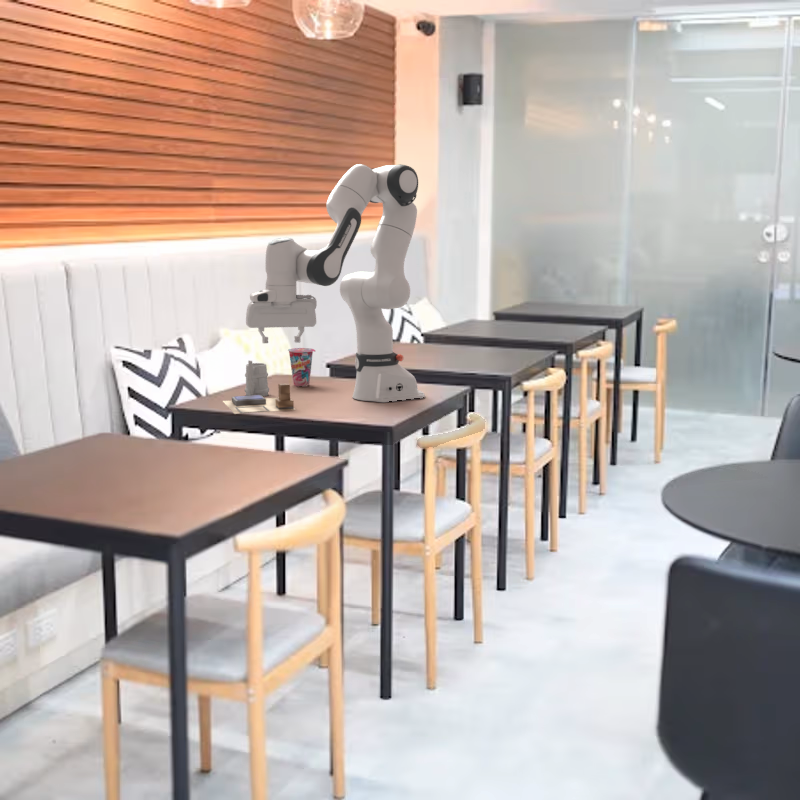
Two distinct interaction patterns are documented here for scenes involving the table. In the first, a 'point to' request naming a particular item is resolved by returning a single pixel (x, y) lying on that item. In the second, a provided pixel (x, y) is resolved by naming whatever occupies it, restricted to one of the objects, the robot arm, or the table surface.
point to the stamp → (284, 397)
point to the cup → (301, 365)
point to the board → (252, 404)
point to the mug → (256, 379)
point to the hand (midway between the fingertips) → (281, 342)
